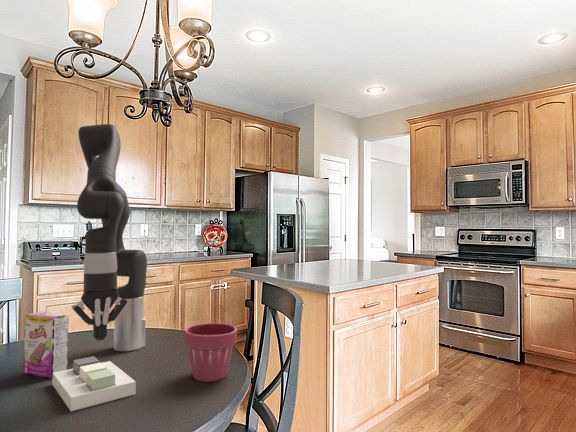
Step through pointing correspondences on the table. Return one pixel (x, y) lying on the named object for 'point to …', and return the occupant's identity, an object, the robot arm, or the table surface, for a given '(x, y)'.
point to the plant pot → (210, 349)
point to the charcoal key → (83, 363)
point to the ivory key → (90, 370)
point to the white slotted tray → (82, 397)
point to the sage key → (100, 380)
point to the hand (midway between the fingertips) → (99, 339)
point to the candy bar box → (45, 344)
